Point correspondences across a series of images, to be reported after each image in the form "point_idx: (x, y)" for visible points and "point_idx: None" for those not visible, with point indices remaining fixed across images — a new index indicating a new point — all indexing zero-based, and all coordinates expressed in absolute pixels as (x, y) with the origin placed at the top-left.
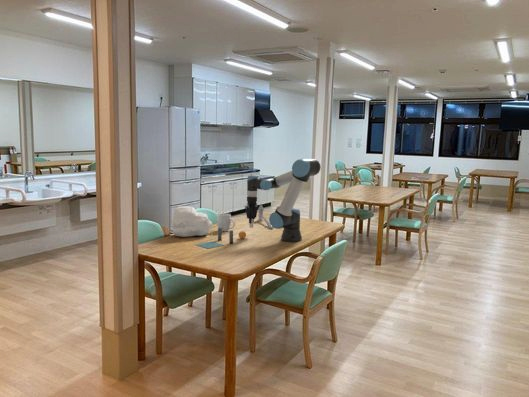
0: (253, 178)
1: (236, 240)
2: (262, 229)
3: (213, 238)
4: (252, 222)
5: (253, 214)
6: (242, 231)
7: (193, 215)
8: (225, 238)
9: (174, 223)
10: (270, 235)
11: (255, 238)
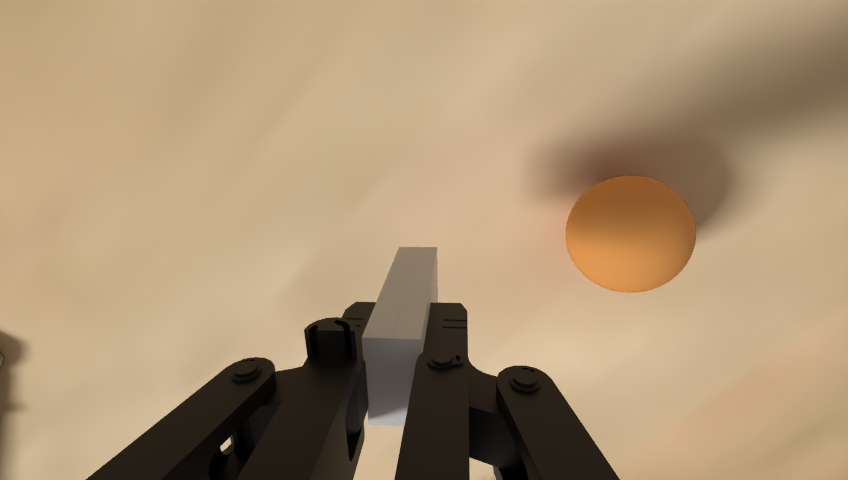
0: None
1: (754, 187)
2: (88, 396)
3: (836, 438)
4: (411, 293)
5: (316, 452)
6: (658, 245)
7: None
8: (745, 356)
9: None
10: (169, 104)
11: (463, 102)
